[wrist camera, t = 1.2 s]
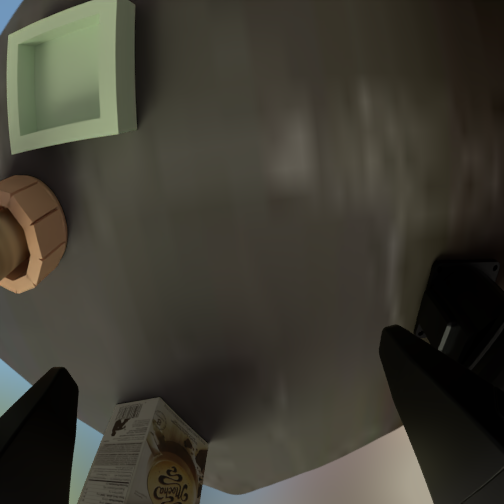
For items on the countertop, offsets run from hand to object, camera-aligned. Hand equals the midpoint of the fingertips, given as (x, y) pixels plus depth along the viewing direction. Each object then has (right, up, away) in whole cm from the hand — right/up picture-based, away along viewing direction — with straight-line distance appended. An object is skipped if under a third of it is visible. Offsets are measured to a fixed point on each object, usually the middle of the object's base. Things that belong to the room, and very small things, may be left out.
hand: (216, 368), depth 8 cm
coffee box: (-8, -15, +21) cm, 27 cm away
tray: (-10, +14, +7) cm, 18 cm away
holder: (-16, +5, +12) cm, 20 cm away
